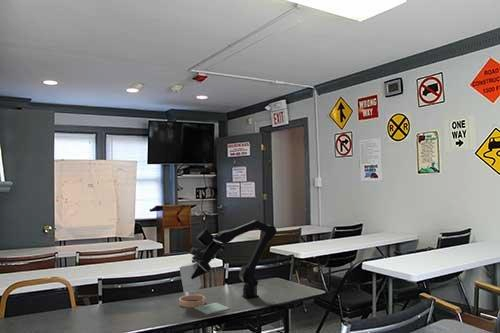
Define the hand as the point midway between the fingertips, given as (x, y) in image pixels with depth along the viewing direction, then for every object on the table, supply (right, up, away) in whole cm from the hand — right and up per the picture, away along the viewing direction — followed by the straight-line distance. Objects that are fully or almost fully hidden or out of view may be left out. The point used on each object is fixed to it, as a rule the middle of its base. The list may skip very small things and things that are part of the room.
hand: (189, 276), depth 200 cm
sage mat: (+12, -13, -9) cm, 20 cm away
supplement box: (+2, -7, 0) cm, 7 cm away
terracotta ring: (+1, -13, 0) cm, 13 cm away
